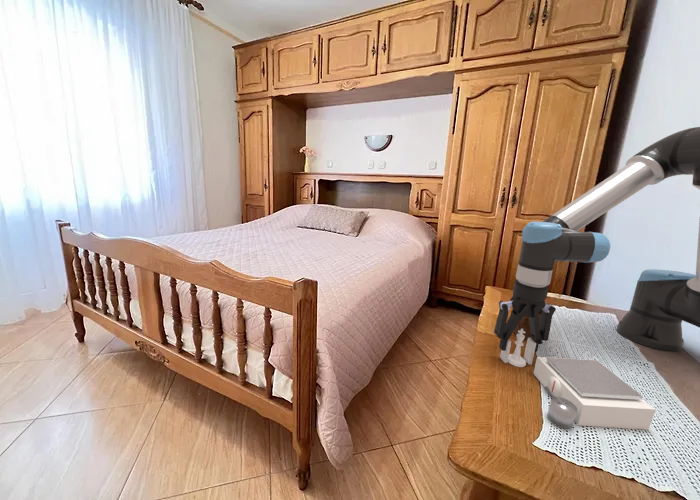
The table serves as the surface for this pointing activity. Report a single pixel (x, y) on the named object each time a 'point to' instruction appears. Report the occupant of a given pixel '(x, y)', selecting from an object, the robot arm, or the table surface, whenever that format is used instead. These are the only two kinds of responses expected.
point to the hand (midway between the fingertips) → (515, 360)
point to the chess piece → (518, 351)
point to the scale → (595, 403)
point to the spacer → (562, 412)
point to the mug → (525, 326)
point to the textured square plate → (592, 379)
